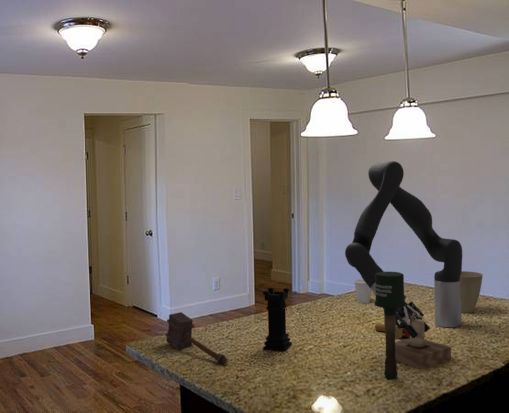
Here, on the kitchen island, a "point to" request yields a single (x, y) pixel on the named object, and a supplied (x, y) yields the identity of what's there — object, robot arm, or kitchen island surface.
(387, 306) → the potato masher grenade
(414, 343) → the peg
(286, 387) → the kitchen island surface
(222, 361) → the hammer
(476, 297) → the plant pot
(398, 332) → the kendama
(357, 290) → the dixie cup
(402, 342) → the block
